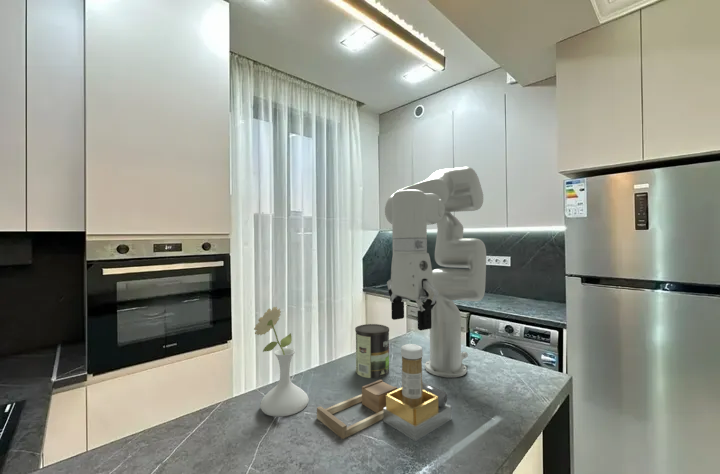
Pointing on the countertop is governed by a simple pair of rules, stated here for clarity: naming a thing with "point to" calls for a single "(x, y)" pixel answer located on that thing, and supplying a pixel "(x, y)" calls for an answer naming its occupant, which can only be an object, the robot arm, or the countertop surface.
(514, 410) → the countertop surface
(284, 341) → the flower in vase
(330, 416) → the tray
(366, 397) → the tan cardboard box
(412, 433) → the gold open box
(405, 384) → the sprinkles bottle
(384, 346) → the coffee can
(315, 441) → the countertop surface
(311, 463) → the countertop surface
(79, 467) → the countertop surface
